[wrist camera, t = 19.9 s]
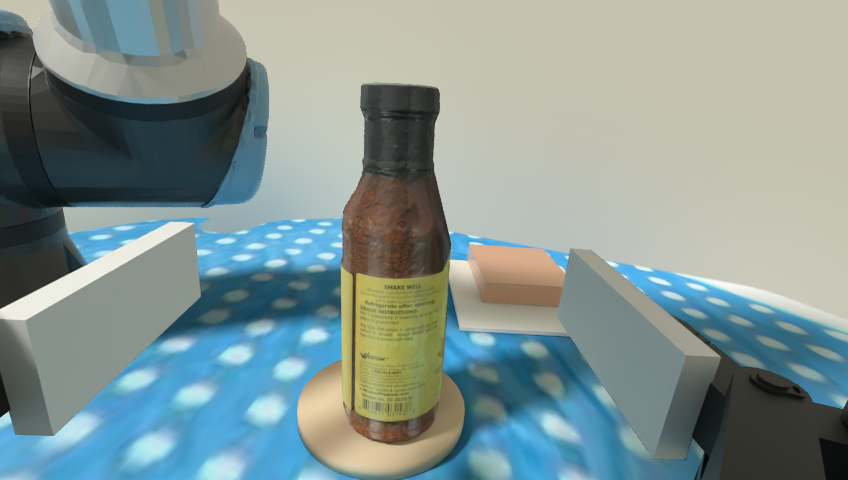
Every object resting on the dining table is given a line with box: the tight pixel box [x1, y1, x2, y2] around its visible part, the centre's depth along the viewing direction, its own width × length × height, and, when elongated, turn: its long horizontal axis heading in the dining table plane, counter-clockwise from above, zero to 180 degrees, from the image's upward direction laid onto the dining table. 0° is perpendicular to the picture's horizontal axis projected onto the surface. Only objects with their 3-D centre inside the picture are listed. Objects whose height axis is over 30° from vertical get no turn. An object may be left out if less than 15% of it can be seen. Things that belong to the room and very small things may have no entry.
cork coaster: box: [297, 360, 465, 480], centre depth 28 cm, size 11×11×1 cm
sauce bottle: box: [341, 83, 451, 443], centre depth 24 cm, size 7×6×20 cm
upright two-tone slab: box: [467, 244, 565, 306], centre depth 51 cm, size 2×10×12 cm
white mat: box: [449, 260, 570, 337], centre depth 49 cm, size 18×16×1 cm
